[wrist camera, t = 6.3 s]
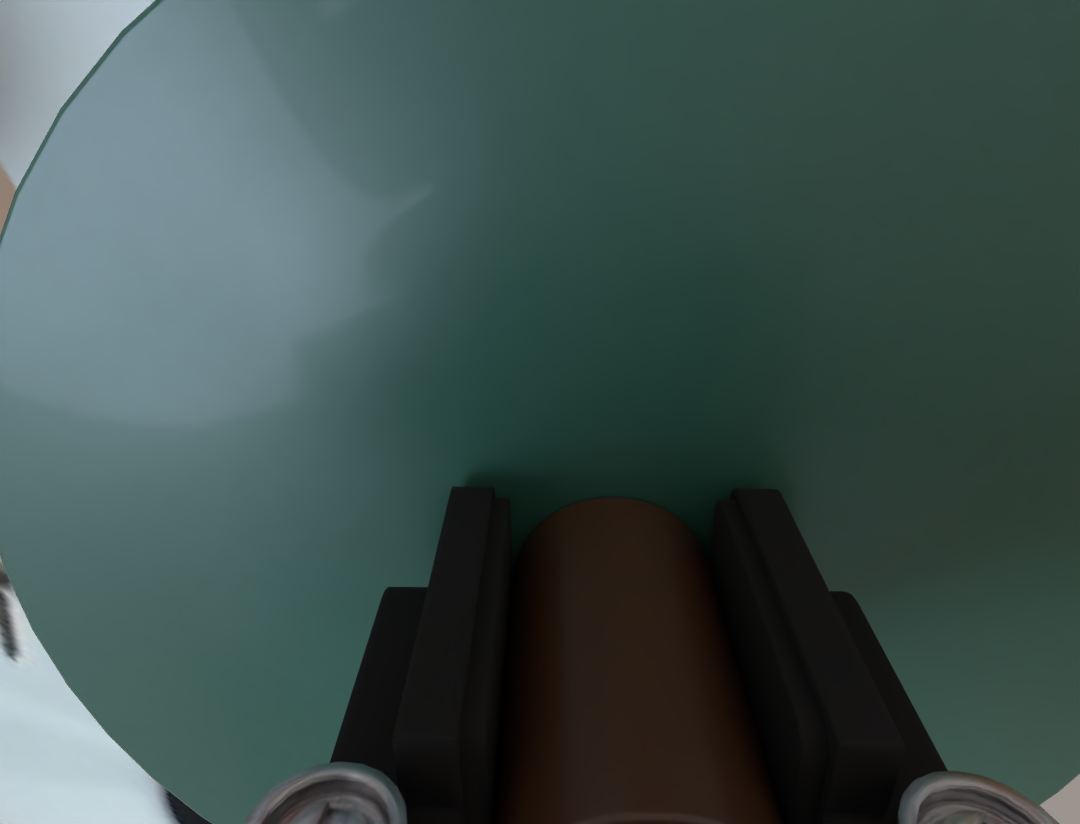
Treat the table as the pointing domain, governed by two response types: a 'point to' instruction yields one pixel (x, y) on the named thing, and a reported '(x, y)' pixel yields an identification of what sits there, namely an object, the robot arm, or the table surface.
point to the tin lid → (550, 372)
